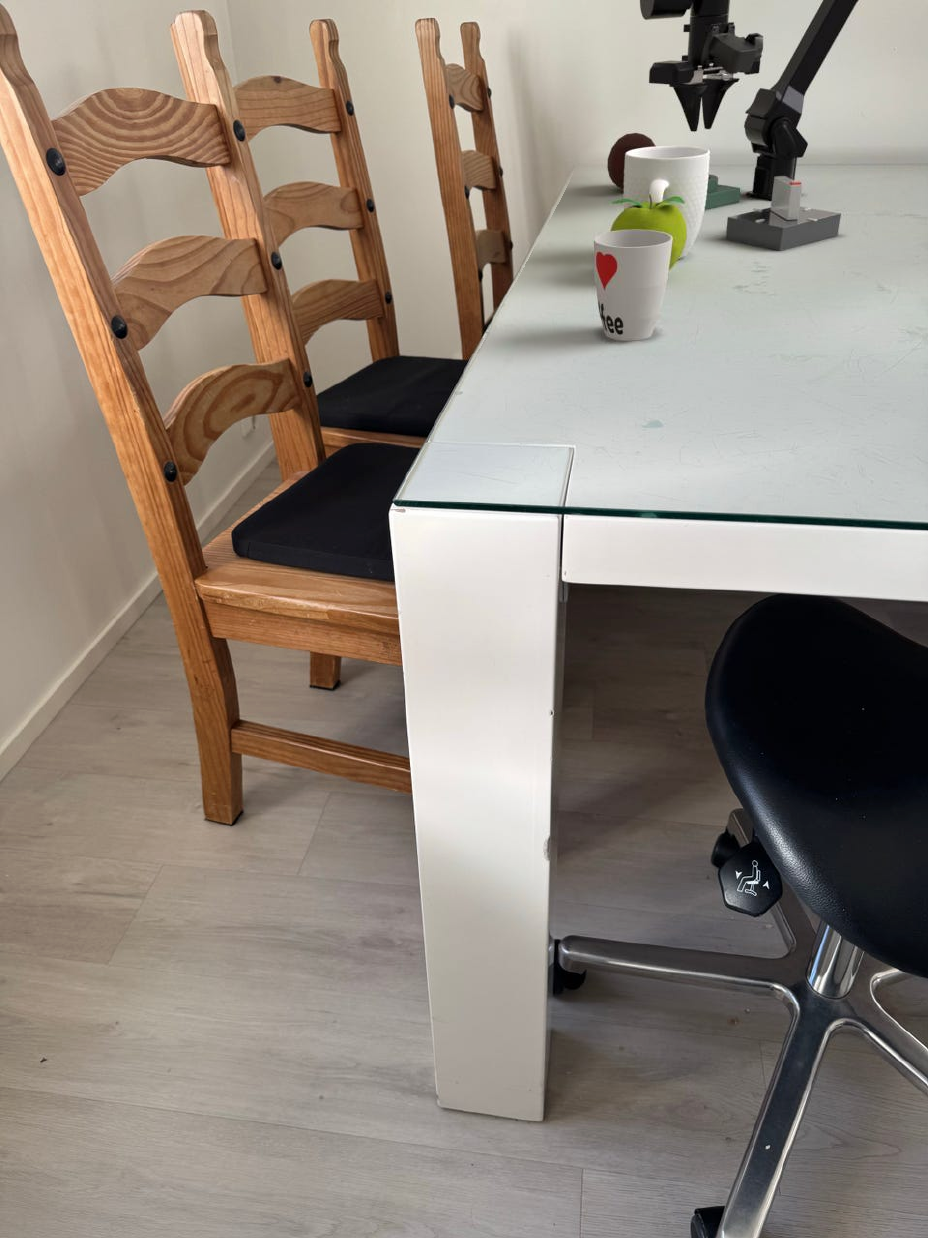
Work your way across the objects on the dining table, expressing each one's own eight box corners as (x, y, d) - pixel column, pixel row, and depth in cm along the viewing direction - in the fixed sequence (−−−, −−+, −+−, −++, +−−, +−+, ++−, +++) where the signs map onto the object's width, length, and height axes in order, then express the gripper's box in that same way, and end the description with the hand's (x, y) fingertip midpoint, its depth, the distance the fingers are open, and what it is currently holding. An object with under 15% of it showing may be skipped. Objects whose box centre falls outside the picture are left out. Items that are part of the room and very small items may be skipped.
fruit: (667, 289, 119) (673, 202, 114) (598, 282, 123) (600, 198, 118) (694, 271, 125) (700, 188, 120) (627, 265, 130) (631, 185, 124)
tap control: (699, 195, 166) (701, 169, 164) (739, 201, 160) (741, 175, 158) (652, 205, 161) (653, 179, 159) (690, 212, 155) (692, 185, 153)
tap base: (779, 224, 145) (782, 202, 143) (841, 236, 137) (845, 212, 135) (722, 238, 140) (724, 215, 138) (783, 251, 132) (786, 226, 130)
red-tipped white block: (770, 210, 139) (774, 174, 137) (781, 209, 139) (785, 173, 137) (786, 220, 134) (791, 183, 131) (798, 219, 134) (803, 182, 131)
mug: (694, 273, 124) (703, 162, 117) (609, 271, 127) (612, 163, 120) (705, 247, 136) (714, 144, 129) (627, 245, 139) (631, 145, 132)
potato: (660, 183, 176) (664, 127, 171) (648, 196, 167) (651, 137, 162) (613, 183, 179) (615, 127, 174) (599, 196, 170) (600, 138, 165)
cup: (585, 325, 109) (586, 232, 103) (656, 319, 109) (661, 226, 104) (599, 348, 102) (602, 249, 97) (675, 342, 103) (682, 243, 97)
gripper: (703, 19, 136) (694, 141, 145) (793, 10, 144) (780, 126, 153) (649, 19, 144) (643, 135, 153) (737, 11, 152) (727, 121, 161)
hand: (700, 130), depth 154 cm, fingers open, 3 cm apart
